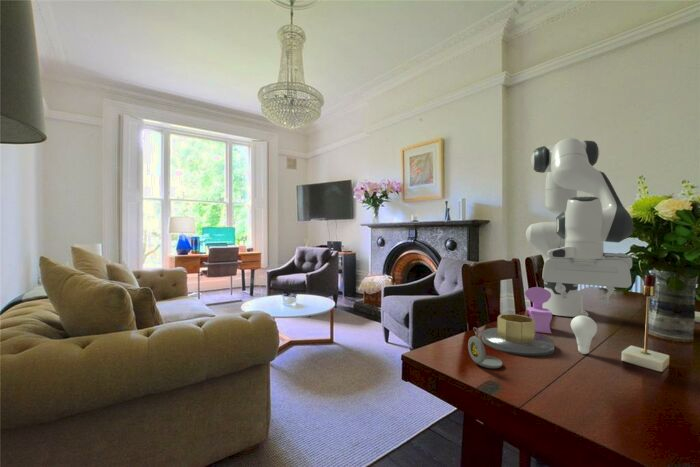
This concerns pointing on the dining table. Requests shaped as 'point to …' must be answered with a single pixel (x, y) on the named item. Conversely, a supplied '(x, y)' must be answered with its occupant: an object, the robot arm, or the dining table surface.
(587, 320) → the lightbulb
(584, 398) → the dining table surface
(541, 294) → the toy chair
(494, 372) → the dining table surface
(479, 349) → the pocket watch
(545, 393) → the dining table surface
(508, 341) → the lamp base
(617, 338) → the dining table surface
